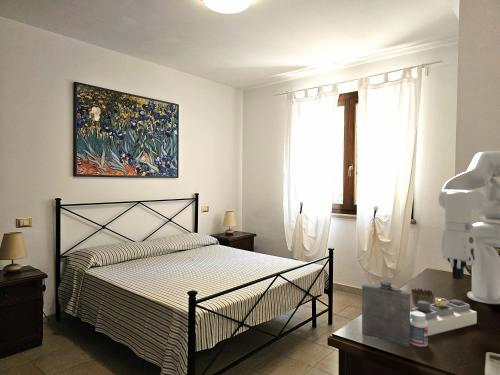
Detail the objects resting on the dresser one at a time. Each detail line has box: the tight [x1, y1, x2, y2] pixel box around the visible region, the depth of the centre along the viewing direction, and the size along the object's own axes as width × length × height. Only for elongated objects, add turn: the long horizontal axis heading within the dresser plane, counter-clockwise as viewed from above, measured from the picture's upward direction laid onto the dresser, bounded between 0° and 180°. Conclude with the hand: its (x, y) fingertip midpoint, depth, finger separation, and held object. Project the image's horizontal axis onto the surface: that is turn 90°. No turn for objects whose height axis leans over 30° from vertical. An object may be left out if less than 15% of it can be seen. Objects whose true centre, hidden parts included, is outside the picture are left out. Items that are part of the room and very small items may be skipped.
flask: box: [361, 279, 411, 347], centre depth 103 cm, size 4×14×18 cm, turn 52°
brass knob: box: [434, 297, 448, 309], centre depth 113 cm, size 4×4×3 cm
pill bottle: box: [410, 311, 429, 348], centre depth 101 cm, size 5×5×9 cm
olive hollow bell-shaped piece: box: [410, 287, 435, 308], centre depth 123 cm, size 8×7×8 cm
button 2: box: [451, 299, 464, 306], centre depth 116 cm, size 4×4×3 cm
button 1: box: [418, 301, 430, 313], centre depth 110 cm, size 4×4×3 cm
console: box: [410, 299, 478, 337], centre depth 113 cm, size 23×9×6 cm, turn 112°
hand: (458, 278), depth 117 cm, fingers closed
